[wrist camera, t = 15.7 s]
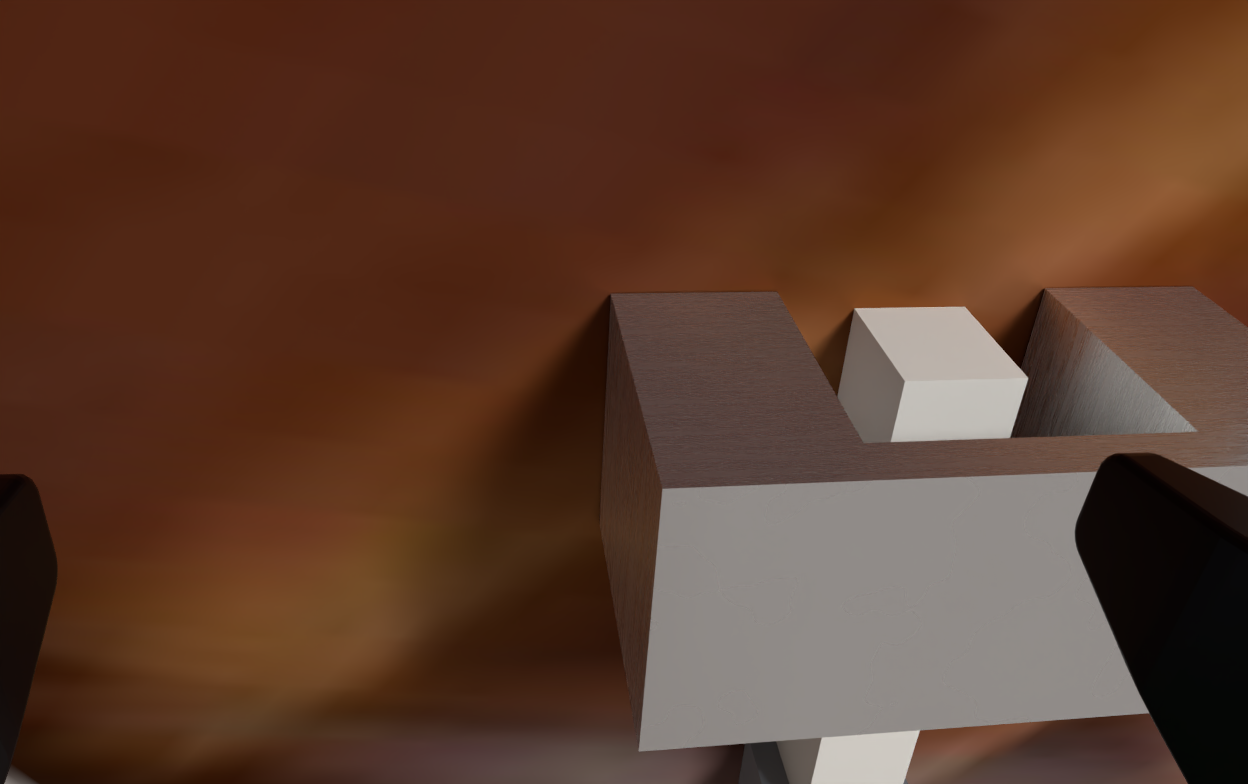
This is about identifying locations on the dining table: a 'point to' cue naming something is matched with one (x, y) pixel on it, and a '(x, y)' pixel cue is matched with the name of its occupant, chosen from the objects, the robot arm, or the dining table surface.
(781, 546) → the block
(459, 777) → the dining table surface
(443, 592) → the dining table surface
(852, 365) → the cable plug
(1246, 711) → the robot arm
